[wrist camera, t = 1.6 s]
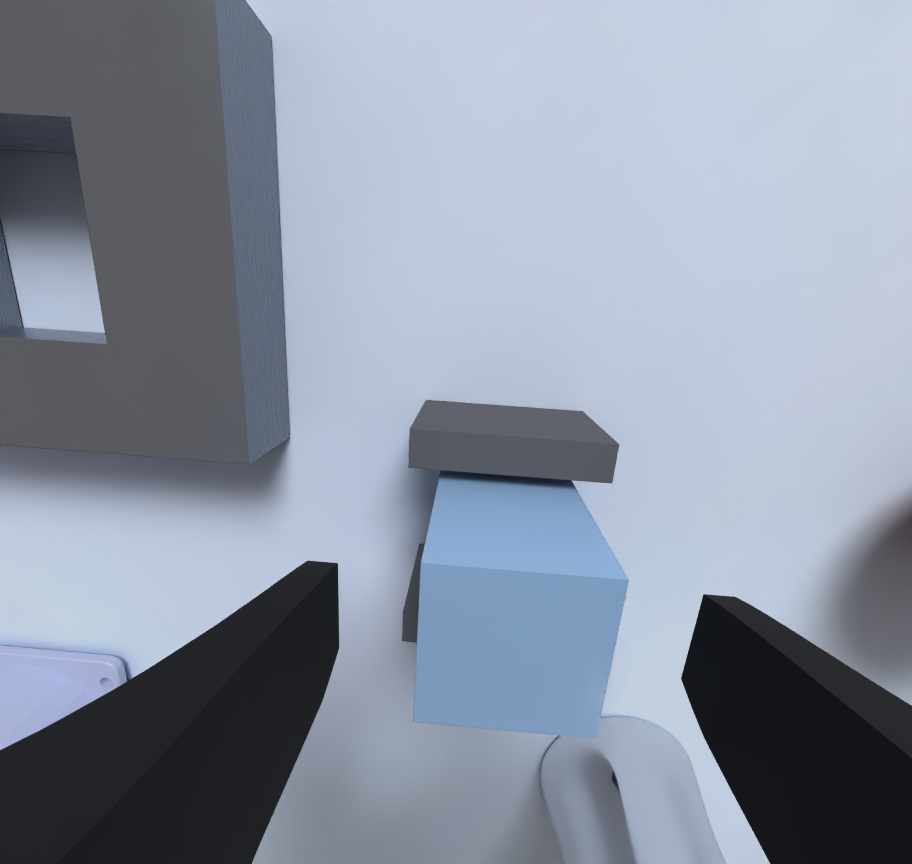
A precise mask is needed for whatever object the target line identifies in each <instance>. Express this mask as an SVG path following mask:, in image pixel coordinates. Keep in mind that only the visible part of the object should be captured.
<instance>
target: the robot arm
mask: <svg viewBox="0 0 912 864" xmlns="http://www.w3.org/2000/svg"><path fill="white" fill-rule="evenodd" d="M338 649H339V610H338V563H328V562H316V561H307V562H305V563H304V564H302V565H301V566H299V567H298V568H296V569H295V570H293V571H292V572H291V573H289V574H288V575H286V576H285V577H284V578H282V579H281V580H279V581H278V582H277V583H275V584H274V585H272V586H271V587H270V588H268V589H267V590H265V591H264V592H263V593H261V594H260V595H259V596H257V597H256V598H254V599H253V600H251V601H250V602H249V603H247V604H246V605H244V606H243V607H241V608H240V609H239V610H237V611H236V612H234V613H233V614H231V615H230V616H229V617H227V618H226V619H224V620H223V621H221V622H220V623H218V624H217V625H216V626H214V627H213V628H211V629H209V630H208V631H206V632H205V633H203V634H202V635H200V636H199V637H197V638H195V639H194V640H192V641H191V642H189V643H188V644H186V645H185V646H183V647H182V648H180V649H178V650H177V651H175V652H174V653H172V654H171V655H169V656H168V657H166V658H164V659H163V660H161V661H160V662H158V663H157V664H155V665H154V666H152V667H150V668H149V669H147V670H145V671H144V672H142V673H141V674H139V675H137V676H136V677H134V678H132V679H131V680H129V681H127V678H126V673H125V668H124V664H123V662H122V661H121V660H120V659H119V658H117V657H116V656H112V655H102V654H91V653H79V652H68V651H57V650H45V649H34V648H23V647H12V646H0V864H252V862H253V859H254V857H255V854H256V852H257V849H258V847H259V844H260V842H261V840H262V837H263V835H264V833H265V831H266V828H267V826H268V824H269V822H270V819H271V817H272V815H273V812H274V810H275V808H276V806H277V803H278V801H279V799H280V797H281V794H282V792H283V790H284V788H285V785H286V783H287V781H288V778H289V776H290V774H291V772H292V769H293V767H294V765H295V763H296V760H297V758H298V756H299V754H300V751H301V749H302V747H303V744H304V742H305V740H306V737H307V735H308V733H309V731H310V728H311V726H312V724H313V721H314V719H315V717H316V714H317V712H318V710H319V707H320V705H321V703H322V700H323V697H324V694H325V691H326V688H327V685H328V682H329V679H330V676H331V672H332V669H333V666H334V663H335V659H336V656H337V653H338ZM681 679H682V682H683V685H684V688H685V690H686V693H687V696H688V698H689V701H690V704H691V706H692V709H693V711H694V714H695V716H696V719H697V721H698V724H699V726H700V729H701V731H702V733H703V736H704V738H705V740H706V742H707V744H708V746H709V748H710V750H711V752H712V754H713V756H714V758H715V760H716V762H717V763H718V765H719V767H720V769H721V771H722V773H723V775H724V777H725V779H726V781H727V783H728V785H729V787H730V788H731V790H732V792H733V794H734V796H735V798H736V800H737V802H738V804H739V805H740V807H741V809H742V811H743V813H744V815H745V817H746V819H747V821H748V822H749V824H750V826H751V828H752V830H753V832H754V834H755V836H756V838H757V839H758V841H759V843H760V845H761V847H762V849H763V851H764V853H765V855H766V856H767V858H768V860H769V862H770V864H912V706H911V705H909V704H908V703H906V702H904V701H903V700H901V699H900V698H898V697H896V696H895V695H893V694H892V693H890V692H888V691H887V690H885V689H884V688H882V687H880V686H879V685H877V684H876V683H874V682H872V681H871V680H869V679H868V678H866V677H864V676H863V675H861V674H860V673H858V672H857V671H855V670H853V669H852V668H850V667H849V666H847V665H845V664H844V663H842V662H841V661H839V660H838V659H836V658H835V657H833V656H831V655H830V654H828V653H827V652H825V651H824V650H822V649H820V648H819V647H817V646H816V645H814V644H813V643H811V642H809V641H808V640H806V639H805V638H803V637H802V636H800V635H798V634H797V633H795V632H794V631H792V630H791V629H789V628H787V627H786V626H784V625H783V624H781V623H779V622H778V621H776V620H775V619H773V618H771V617H770V616H768V615H766V614H765V613H763V612H761V611H760V610H758V609H756V608H755V607H753V606H751V605H749V604H748V603H746V602H744V601H742V600H740V599H738V598H736V597H729V596H717V595H705V594H704V595H703V599H702V603H701V606H700V610H699V614H698V617H697V621H696V625H695V629H694V632H693V636H692V640H691V644H690V647H689V651H688V655H687V659H686V662H685V666H684V670H683V674H682V677H681Z"/></svg>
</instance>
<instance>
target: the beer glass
mask: <svg viewBox="0 0 912 864" xmlns="http://www.w3.org/2000/svg"><path fill="white" fill-rule="evenodd" d="M540 778H541V786H542V791H543V795H544V799H545V802H546V806H547V809H548V812H549V815H550V819H551V822H552V825H553V828H554V831H555V835H556V838H557V841H558V845H559V848H560V852H561V856H562V860H563V864H726V862H725V859H724V857H723V855H722V852H721V850H720V848H719V845H718V843H717V841H716V838H715V836H714V833H713V830H712V827H711V824H710V821H709V818H708V815H707V812H706V808H705V805H704V802H703V798H702V795H701V791H700V788H699V785H698V781H697V778H696V775H695V772H694V769H693V766H692V763H691V761H690V758H689V756H688V754H687V752H686V750H685V749H684V747H683V746H682V745H681V743H680V742H679V741H678V740H677V739H676V738H675V737H674V736H673V735H672V734H671V733H669V732H668V731H666V730H665V729H663V728H662V727H660V726H658V725H655V724H653V723H650V722H648V721H645V720H641V719H637V718H631V717H604V718H600V722H599V727H598V732H597V736H596V738H585V737H574V736H563V735H561V736H560V737H559V738H558V739H556V740H555V742H554V743H553V744H552V745H551V746H550V748H549V749H548V751H547V752H546V754H545V756H544V759H543V762H542V765H541V776H540Z"/></svg>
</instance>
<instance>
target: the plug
mask: <svg viewBox="0 0 912 864" xmlns="http://www.w3.org/2000/svg"><path fill="white" fill-rule="evenodd" d="M628 581H629V579H628V578H627V576H626V574H625V573H624V571H623V569H622V567H621V566H620V564H619V562H618V560H617V559H616V557H615V555H614V554H613V552H612V550H611V548H610V547H609V545H608V543H607V541H606V540H605V538H604V536H603V535H602V533H601V531H600V529H599V528H598V526H597V524H596V522H595V521H594V519H593V517H592V516H591V514H590V512H589V510H588V509H587V507H586V505H585V503H584V502H583V500H582V498H581V496H580V495H579V493H578V491H577V490H576V488H575V486H574V484H573V483H572V481H571V480H562V479H548V478H535V477H522V476H509V475H496V474H483V473H470V472H457V471H444V470H441V472H440V476H439V481H438V486H437V490H436V495H435V500H434V504H433V509H432V514H431V518H430V523H429V527H428V532H427V537H426V541H425V546H424V551H423V555H422V560H421V570H420V591H419V612H418V633H417V654H416V675H415V696H414V717H413V722H420V723H431V724H442V725H453V726H464V727H475V728H486V729H497V730H508V731H519V732H530V733H541V734H552V735H563V736H574V737H585V738H596V736H597V732H598V727H599V722H600V717H601V712H602V707H603V702H604V698H605V693H606V688H607V683H608V678H609V673H610V669H611V664H612V659H613V654H614V649H615V644H616V640H617V635H618V630H619V625H620V620H621V615H622V610H623V606H624V601H625V596H626V591H627V586H628Z"/></svg>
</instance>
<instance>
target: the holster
mask: <svg viewBox="0 0 912 864" xmlns="http://www.w3.org/2000/svg"><path fill="white" fill-rule="evenodd" d="M618 448H619V444H618V443H617V442H616V441H615V440H614V439H613V438H611V437H610V436H609V435H608V434H607V433H606V432H605V431H604V430H603V429H602V428H600V427H599V426H598V425H597V424H596V423H595V422H594V421H593V420H592V419H590V418H589V417H588V416H587V415H586V414H585V413H584V412H583V411H570V410H556V409H542V408H529V407H515V406H501V405H487V404H473V403H460V402H446V401H432V400H426V401H425V403H424V405H423V406H422V408H421V410H420V412H419V414H418V415H417V417H416V419H415V421H414V422H413V424H412V426H411V428H410V439H409V466H408V468H418V469H431V470H444V471H457V472H470V473H483V474H496V475H509V476H522V477H535V478H548V479H562V480H575V481H588V482H601V483H612V481H613V476H614V470H615V464H616V459H617V453H618ZM424 546H425V544H419V548H418V552H417V556H416V560H415V565H414V569H413V573H412V577H411V581H410V585H409V590H408V594H407V598H406V602H405V606H404V610H403V634H402V641H407V642H417V633H418V612H419V591H420V570H421V560H422V555H423V551H424Z"/></svg>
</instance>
